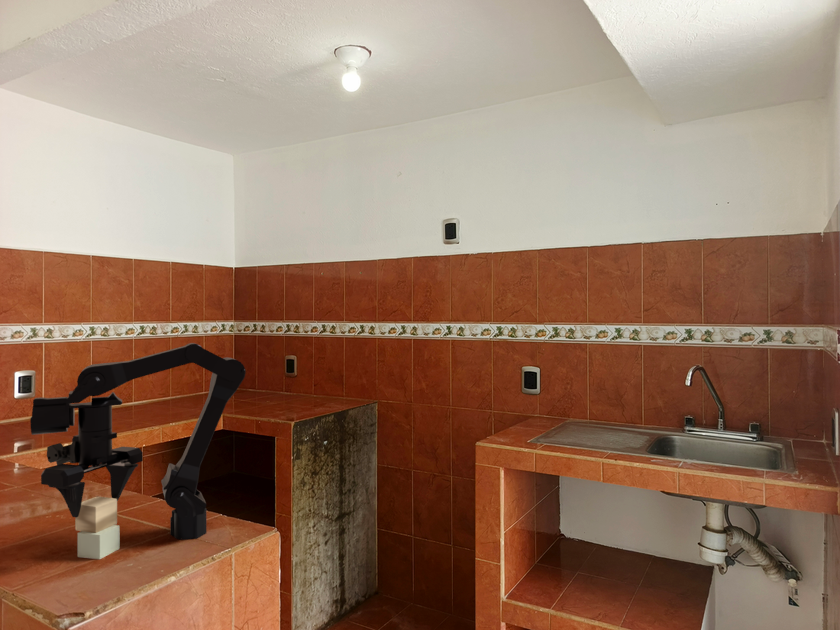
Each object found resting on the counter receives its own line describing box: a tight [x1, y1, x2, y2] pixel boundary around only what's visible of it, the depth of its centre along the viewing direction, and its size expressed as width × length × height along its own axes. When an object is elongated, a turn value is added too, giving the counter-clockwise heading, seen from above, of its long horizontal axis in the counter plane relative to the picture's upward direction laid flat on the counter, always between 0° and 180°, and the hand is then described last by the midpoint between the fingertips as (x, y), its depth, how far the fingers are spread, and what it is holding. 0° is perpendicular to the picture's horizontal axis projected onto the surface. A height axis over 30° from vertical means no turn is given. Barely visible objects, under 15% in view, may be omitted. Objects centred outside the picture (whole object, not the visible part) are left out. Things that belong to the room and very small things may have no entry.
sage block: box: [77, 524, 121, 560], centre depth 109 cm, size 5×5×5 cm
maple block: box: [74, 495, 118, 533], centre depth 110 cm, size 5×5×5 cm
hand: (95, 508), depth 109 cm, fingers open, 9 cm apart
